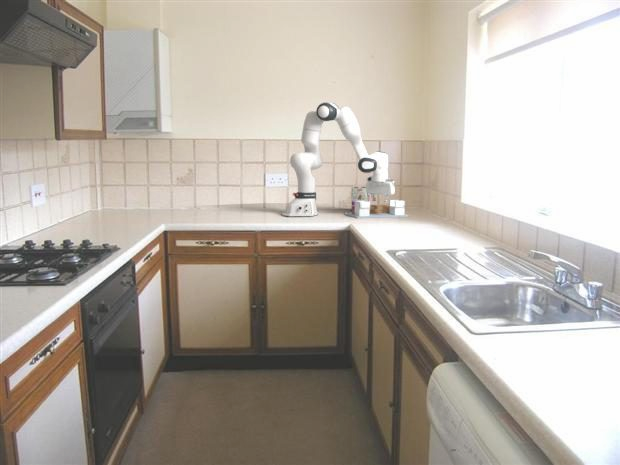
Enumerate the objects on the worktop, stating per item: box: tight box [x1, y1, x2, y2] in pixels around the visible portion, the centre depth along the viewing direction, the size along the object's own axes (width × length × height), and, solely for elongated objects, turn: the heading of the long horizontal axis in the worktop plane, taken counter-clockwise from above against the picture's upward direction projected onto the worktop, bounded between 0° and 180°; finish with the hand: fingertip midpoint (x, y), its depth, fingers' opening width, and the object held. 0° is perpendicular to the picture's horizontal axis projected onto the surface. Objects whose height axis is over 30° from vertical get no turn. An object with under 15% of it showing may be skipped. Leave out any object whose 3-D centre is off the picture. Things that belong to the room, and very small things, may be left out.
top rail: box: [352, 204, 390, 214], centre depth 333 cm, size 26×4×5 cm, turn 113°
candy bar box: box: [351, 186, 371, 213], centre depth 350 cm, size 11×5×16 cm, turn 73°
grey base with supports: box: [343, 199, 409, 219], centre depth 329 cm, size 34×20×10 cm, turn 109°
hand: (379, 201), depth 324 cm, fingers open, 8 cm apart
